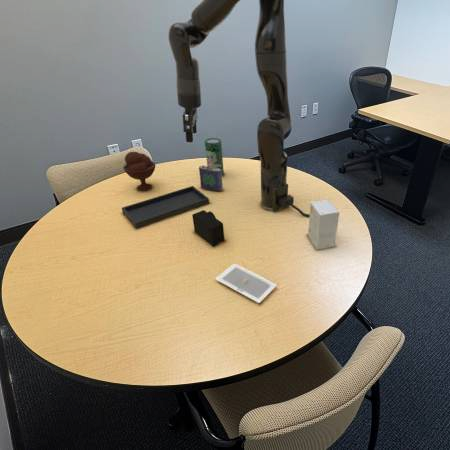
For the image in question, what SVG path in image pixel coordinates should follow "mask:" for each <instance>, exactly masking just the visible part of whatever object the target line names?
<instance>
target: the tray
mask: <svg viewBox="0 0 450 450" xmlns="http://www.w3.org/2000/svg"><path fill="white" fill-rule="evenodd" d="M208 204H210V199H209V197H208V196H207V195H205V194H204V192H202V191H200V190H199V189H198V188H196V187H195V186H194V185H191V186H187V187H184V188H181V189H177V190H175V191H172V192H167V193H164V194H162V195H158V196H155V197H152V198H148V199H145V200H143V201H142V200H141V201H139V202H135V203H133V204H129V205H126V206H123V207H122V206H121V211H122V214H123V215H124V217H126V218H127V219H128V221H129V222H130V223H131V224H132V225H133V227H134V228H135V229H136V230H138V229H140V228H144V227H147V226H149V225H152V224H155V223H158V222H161V221H163V220H166V219H169V218H171V217H174V216H177V215H180V214H184V213H185V212H189V211H192V210H194V209H197V208H199V207H200V208H201V207H203V206H205V205H208Z"/></svg>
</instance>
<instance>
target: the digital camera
mask: <svg viewBox="0 0 450 450" xmlns="http://www.w3.org/2000/svg"><path fill="white" fill-rule="evenodd" d="M191 217H192V222H193V229H194V230H193V231H194V233H195V234H197V235H198V236H199V237H200V238H202V239H203V240H204V241H206V242H207V243H208V244H209V245H210V246H212V247H215V246H218V245H220V244H222V243H223V242H225V230H224V223H223V222H222V221H221V220H219V219H218V218H217V217H216V215H215V214H214V212H212V211H210V210H209V211H206V210H205V209H202V210H200V211H197V212H194V213H193V214H192V215H191Z"/></svg>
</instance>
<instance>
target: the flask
mask: <svg viewBox="0 0 450 450" xmlns="http://www.w3.org/2000/svg"><path fill="white" fill-rule="evenodd" d="M211 165H212V164H207V163H206V165H205V164H203V165H199V167H198V172H199V180H200V188H201V189H202V190H205V191H211V192H223V190H224V188H223V187H224V186H223V176H222V175H221V169H217V168H211Z"/></svg>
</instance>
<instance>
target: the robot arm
mask: <svg viewBox="0 0 450 450" xmlns="http://www.w3.org/2000/svg"><path fill="white" fill-rule="evenodd" d="M240 1H241V0H202V1H200V3H199V4H197V6H195V7H194V8H193V10H192V11H191V14H190V19H189V20H187V21H182V22H180V21H179V22H174V23H172V24H171V25H170V27H169V29H168V35H167V36H168V43H169V46H170V50H171V53H172V56H173V59H174V62H175V73H176V93H177V94H176V95H177V104H178V106H179V107H181V108H184V111H183V112H182V125H183V133H185V141H186V143H193V142H194V134H197V131H198V130H197V122H198V109H199V108H200V107H201V106H202V94H201V92H202V91H201V80H200V65H199V61H198V59H197V58H196V57H194V56H192V53H191V49H193V48H196V47H197V48H198V46H200V45H201V44H203V42H204V41H205V40H206V39H207V38H208V37H209V35H210V33H211V32H212V31H214V30H215V29H216V28H217V27H219V26H220V25H221V24H222V23H224V22H225V20H226V19H227V18H228V17H229V16H230V15H231V13H232V11H233V10H234V8H235V7H236V6H237V4H238V3H239V2H240ZM258 5H259V13H258V22H257V27H256V32H255V38H254V56H255V57H254V59H255V68H256V72H257V75H258V78H259V80H260V83H261V85H262V88H263V89H264V93H265V96H266V105H267V106H266V107H267V108H266V109H267V112H266V113H267V115H266V116H265V117H264V118H262V119H261V120H260V121H259V122H258V125H257V130H256V138H257V153H258V156H259V158H260V159H259V160H260V205H261V208H262V209H265V210H266V211H272V212H274V213H276V212H278V211H281V210H283V209H286V208H288V207H289V206H290V207H291V208H293V209H294V210H296V211H297V212H298V213H299V214H301V216H304V217H307V218H309V217H310V213H305V212H303V211H302V210H301V209H300V208H299V207H298V206H296V205H295V204H294V199H295V198H294V196H293V195H291V194H289V183H287V181H288V180H287V178H288V154H287V153H286V152H285V147H284V145H285V140H286V139H287V138H288V137H289V136H290V134H291V133H292V125H293V124H292V117H291V111H290V104H289V92H288V91H289V88H288V83H289V82H288V58H287V57H288V56H287V55H288V53H287V42H286V41H287V40H286V21H285V0H258Z"/></svg>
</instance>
